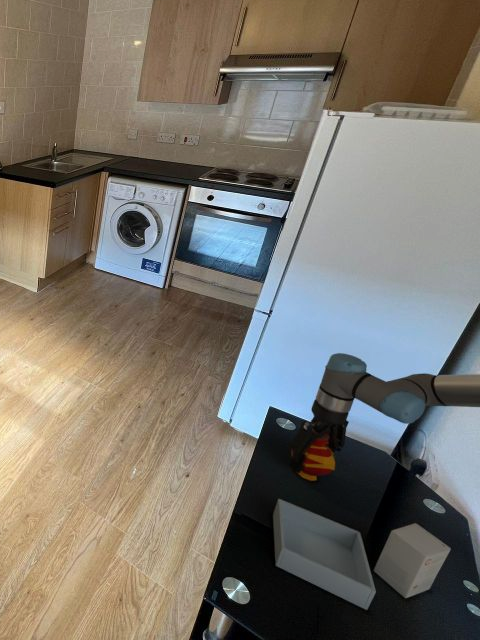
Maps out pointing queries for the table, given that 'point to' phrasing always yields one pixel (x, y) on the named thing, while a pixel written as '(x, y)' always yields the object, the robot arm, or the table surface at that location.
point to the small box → (411, 560)
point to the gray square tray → (322, 553)
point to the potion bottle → (317, 459)
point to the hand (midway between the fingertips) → (309, 466)
